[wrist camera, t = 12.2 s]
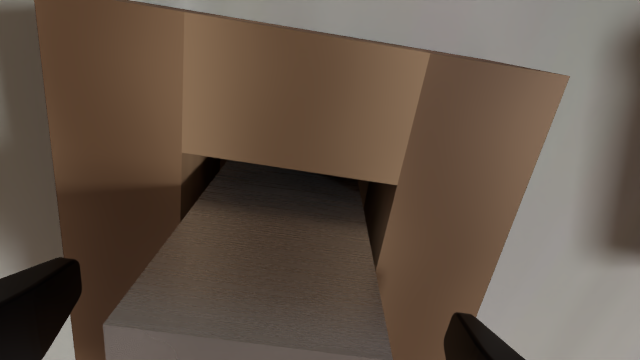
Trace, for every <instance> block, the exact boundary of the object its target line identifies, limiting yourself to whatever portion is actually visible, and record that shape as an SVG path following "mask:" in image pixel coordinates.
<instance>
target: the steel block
mask: <svg viewBox="0 0 640 360" xmlns="http://www.w3.org/2000/svg"><path fill="white" fill-rule="evenodd" d="M103 333H104V344H105V355H106V360H393V357H392V352H391V347H390V342H389V337H388V332H387V327H386V322H385V317H384V312H383V307H382V302H381V296H380V291H379V286H378V281H377V276H376V271H375V266H374V261H373V256H372V251H371V246H370V241H369V236H368V231H367V225H366V220H365V215H364V210H363V205H362V200H361V195H360V190H359V185H358V180H357V179H353V178H346V177H339V176H333V175H326V174H320V173H313V172H306V171H300V170H293V169H287V168H280V167H274V166H267V165H260V164H254V163H247V162H241V161H234V160H228V161H227V162H226V163H225V164H224V166H223V167H222V168H221V170H220V171H219V172H218V174H217V175H216V176H215V178H214V179H213V180H212V182H211V183H210V184H209V186H208V187H207V188H206V189H205V191H204V192H203V193H202V195H201V196H200V197H199V199H198V200H197V201H196V203H195V204H194V205H193V207H192V208H191V209H190V211H189V212H188V213H187V214H186V216H185V217H184V218H183V220H182V221H181V222H180V224H179V225H178V226H177V228H176V229H175V230H174V232H173V233H172V234H171V236H170V237H169V238H168V240H167V241H166V242H165V243H164V245H163V246H162V247H161V249H160V250H159V251H158V253H157V254H156V255H155V257H154V258H153V259H152V261H151V262H150V263H149V265H148V266H147V267H146V268H145V270H144V271H143V272H142V274H141V275H140V276H139V278H138V279H137V280H136V282H135V283H134V284H133V286H132V287H131V288H130V290H129V291H128V292H127V293H126V295H125V296H124V297H123V299H122V300H121V301H120V303H119V304H118V305H117V307H116V308H115V309H114V311H113V312H112V313H111V315H110V316H109V317H108V318H107V320H106V321H105V322H104V324H103Z"/></svg>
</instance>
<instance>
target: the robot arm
mask: <svg viewBox="0 0 640 360" xmlns="http://www.w3.org/2000/svg"><path fill="white" fill-rule="evenodd" d="M81 293H82V281H81V270H80V263H79V262H78V261H77V260H76V259H70V258H62V257H59V258H55V259H53V260H50V261H47V262H44V263H42V264H39V265H36V266H34V267H31V268H28V269H26V270H23V271H20V272H17V273H15V274H12V275H9V276H7V277H4V278H1V279H0V360H42V359H43V357H44V356H45V354H46V352H47V351H48V349H49V348H50V346H51V345H52V343H53V341H54V340H55V338H56V336H57V335H58V333H59V331H60V330H61V328H62V326H63V325H64V323H65V322H66V320H67V318H68V317H69V315H70V313H71V312H72V310H73V308H74V307H75V305H76V303H77V302H78V300H79V298H80V296H81ZM444 352H445V358H446V360H525V359H524V358H523V357H522V356H520V355H519V354H518V353H517V352H516V351H515V350H513V349H512V348H511V347H510V346H509V345H507V344H506V343H505V342H504V341H503V340H502V339H500V338H499V337H498V336H497V335H496V334H495V333H493V332H492V331H491V330H490V329H489V328H487V327H486V326H485V325H484V324H483V323H482V322H480V321H479V320H478V319H477V318H476V317H475V316H473V315H472V314H468V313H461V312H456V313H454V314H453V315H452V317H451V320H450V323H449V325H448V328H447V331H446V334H445V337H444Z"/></svg>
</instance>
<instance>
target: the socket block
mask: <svg viewBox="0 0 640 360" xmlns="http://www.w3.org/2000/svg"><path fill="white" fill-rule="evenodd" d="M34 2H35V11H36V20H37V28H38V37H39V46H40V54H41V63H42V72H43V80H44V89H45V98H46V107H47V115H48V124H49V133H50V141H51V150H52V159H53V167H54V176H55V185H56V193H57V202H58V211H59V220H60V228H61V237H62V246H63V254H64V258H70V259H76V260H77V261H78V262H79V263H80V270H81V281H82V293H81V296H80V298H79V300H78V302H77V303H76V305H75V307H74V308H73V310H72V312H71V313H70V315H71V324H72V333H73V341H74V350H75V359H76V360H106V355H105V344H104V333H103V324H104V322H105V321H106V320H107V318H108V317H109V316H110V315H111V313H112V312H113V311H114V309H115V308H116V307H117V305H118V304H119V303H120V301H121V300H122V299H123V297H124V296H125V295H126V293H127V292H128V291H129V290H130V288H131V287H132V286H133V284H134V283H135V282H136V280H137V279H138V278H139V276H140V275H141V274H142V272H143V271H144V270H145V268H146V267H147V266H148V265H149V263H150V262H151V261H152V259H153V258H154V257H155V255H156V254H157V253H158V251H159V250H160V249H161V247H162V246H163V245H164V243H165V242H166V241H167V240H168V238H169V237H170V236H171V234H172V233H173V232H174V230H175V229H176V228H177V226H178V225H179V224H180V222H181V221H182V220H183V218H184V217H185V216H186V214H187V213H188V212H189V211H190V209H191V208H192V207H193V205H194V204H195V203H196V201H197V200H198V199H199V197H200V196H201V195H202V193H203V192H204V191H205V189H206V188H207V187H208V186H209V184H210V183H211V182H212V180H213V179H214V178H215V176H216V175H217V174H218V172H219V171H220V170H221V168H222V167H223V166H224V164H225V163H226V162H227V161H228V160H234V161H241V162H247V163H254V164H260V165H267V166H274V167H280V168H287V169H293V170H300V171H306V172H313V173H320V174H326V175H333V176H339V177H346V178H353V179H357V180H358V185H359V190H360V195H361V200H362V205H363V210H364V215H365V220H366V225H367V231H368V236H369V241H370V246H371V251H372V256H373V261H374V266H375V271H376V276H377V281H378V286H379V291H380V296H381V302H382V307H383V312H384V317H385V322H386V327H387V332H388V337H389V342H390V347H391V352H392V357H393V360H446V358H445V352H444V337H445V334H446V331H447V328H448V325H449V323H450V320H451V317H452V315H453V314H454V313H456V312H461V313H468V314H472V315H473V316H475V317H476V316H477V313H478V311H479V308H480V306H481V303H482V300H483V298H484V295H485V293H486V290H487V288H488V285H489V283H490V280H491V277H492V275H493V272H494V270H495V267H496V265H497V262H498V259H499V257H500V254H501V252H502V249H503V247H504V244H505V242H506V239H507V236H508V234H509V231H510V229H511V226H512V224H513V221H514V219H515V216H516V213H517V211H518V208H519V206H520V203H521V201H522V198H523V195H524V193H525V190H526V188H527V185H528V183H529V180H530V178H531V175H532V172H533V170H534V167H535V165H536V162H537V160H538V157H539V154H540V152H541V149H542V147H543V144H544V142H545V139H546V137H547V134H548V131H549V129H550V126H551V124H552V121H553V119H554V116H555V114H556V111H557V108H558V106H559V103H560V101H561V98H562V96H563V93H564V90H565V88H566V85H567V83H568V80H569V78H570V76H566V75H561V74H556V73H551V72H546V71H541V70H535V69H530V68H525V67H520V66H515V65H510V64H505V63H500V62H495V61H490V60H484V59H478V58H473V57H467V56H461V55H455V54H449V53H443V52H437V51H431V50H425V49H419V48H413V47H407V46H401V45H395V44H389V43H383V42H377V41H371V40H365V39H359V38H353V37H347V36H341V35H335V34H329V33H323V32H317V31H311V30H305V29H299V28H293V27H287V26H281V25H275V24H269V23H263V22H257V21H251V20H245V19H239V18H233V17H227V16H221V15H215V14H209V13H203V12H197V11H191V10H185V9H179V8H173V7H167V6H161V5H155V4H149V3H143V2H136V1H129V0H34Z"/></svg>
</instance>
